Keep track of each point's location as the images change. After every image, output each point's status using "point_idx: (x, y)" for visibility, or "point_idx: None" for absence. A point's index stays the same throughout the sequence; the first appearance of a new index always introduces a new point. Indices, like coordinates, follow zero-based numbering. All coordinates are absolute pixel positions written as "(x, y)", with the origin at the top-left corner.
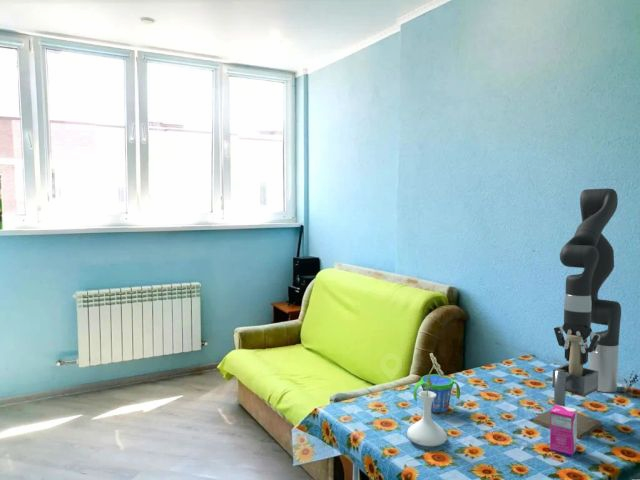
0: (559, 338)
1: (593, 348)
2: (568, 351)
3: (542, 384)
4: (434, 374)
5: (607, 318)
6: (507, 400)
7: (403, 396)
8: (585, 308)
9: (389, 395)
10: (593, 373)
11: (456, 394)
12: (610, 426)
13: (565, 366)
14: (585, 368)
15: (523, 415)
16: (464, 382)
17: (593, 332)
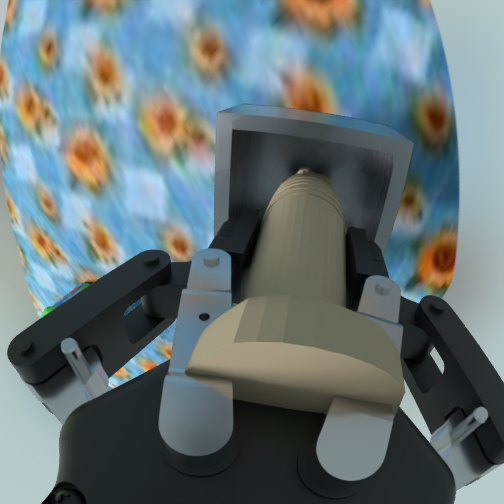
0: (130, 349)
1: (437, 370)
2: (241, 295)
3: None
4: (42, 316)
5: None
6: (123, 155)
7: (44, 284)
8: None
9: (38, 292)
10: (397, 205)
11: (85, 286)
12: (403, 127)
13: (230, 168)
14: (338, 134)
15: (199, 217)
16: (24, 139)
17: (464, 485)
